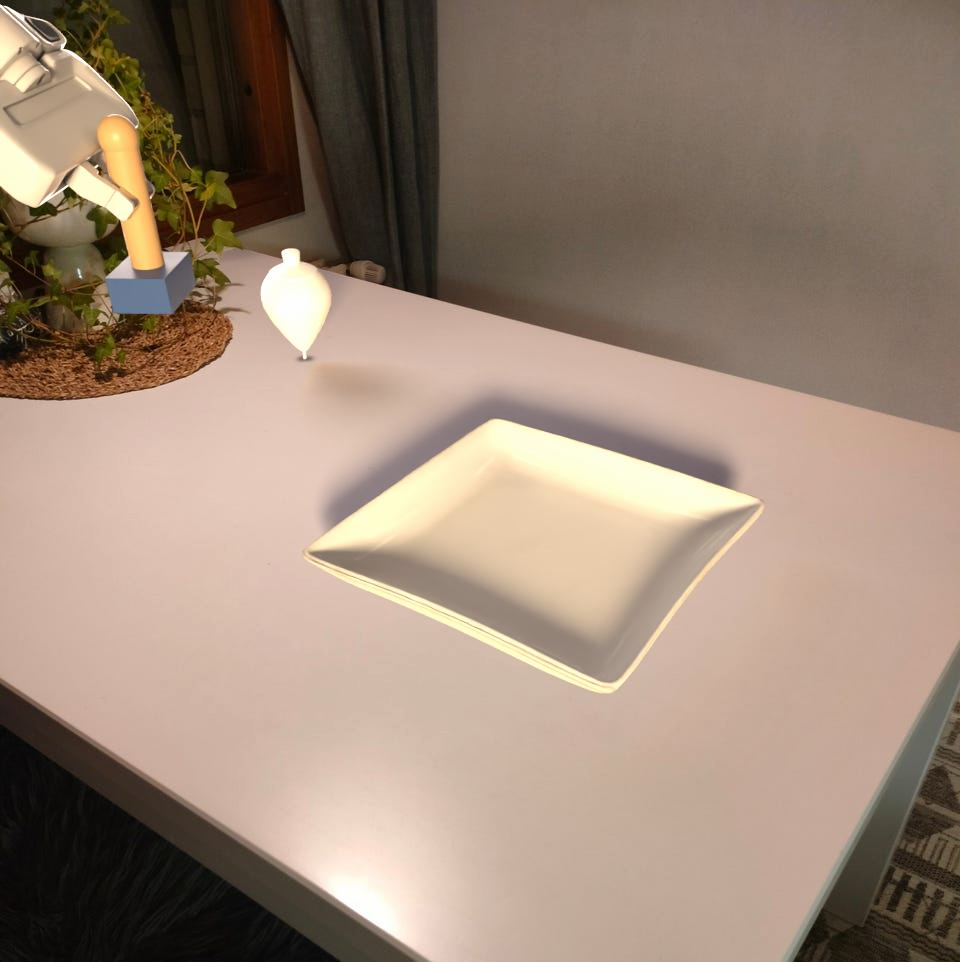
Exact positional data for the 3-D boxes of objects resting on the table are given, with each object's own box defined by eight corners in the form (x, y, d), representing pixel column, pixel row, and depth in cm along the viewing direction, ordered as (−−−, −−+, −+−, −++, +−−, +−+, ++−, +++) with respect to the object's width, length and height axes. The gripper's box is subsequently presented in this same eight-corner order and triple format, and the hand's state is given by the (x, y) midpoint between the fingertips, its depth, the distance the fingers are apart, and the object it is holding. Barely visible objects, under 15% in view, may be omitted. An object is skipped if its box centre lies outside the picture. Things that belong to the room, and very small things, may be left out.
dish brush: (113, 313, 80) (62, 124, 70) (141, 284, 85) (97, 105, 76) (172, 314, 79) (129, 124, 70) (196, 285, 85) (159, 105, 75)
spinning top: (342, 369, 103) (330, 258, 95) (273, 376, 102) (255, 265, 94) (334, 342, 109) (322, 236, 101) (269, 349, 107) (252, 242, 99)
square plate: (300, 590, 71) (293, 549, 69) (494, 448, 89) (494, 411, 86) (608, 729, 60) (613, 685, 57) (762, 534, 77) (772, 494, 74)
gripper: (-64, 58, 62) (116, 213, 68) (58, 19, 77) (196, 148, 83) (-101, 131, 65) (75, 274, 71) (24, 80, 80) (159, 200, 86)
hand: (141, 205), depth 77 cm, fingers closed on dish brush, 3 cm apart
